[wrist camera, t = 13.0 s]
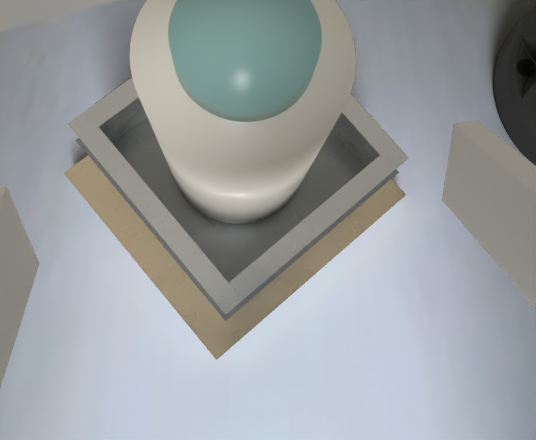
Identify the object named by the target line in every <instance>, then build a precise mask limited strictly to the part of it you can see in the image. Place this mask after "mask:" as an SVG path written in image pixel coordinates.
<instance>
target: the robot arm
mask: <svg viewBox="0 0 536 440" xmlns="http://www.w3.org/2000/svg"><path fill="white" fill-rule="evenodd" d="M494 91H495V98H496V104H497V108H498V111H499V114H500V117H501V120H502V122H503V124H504V127H505V129H506V131H507V132H508V134H509V136H510V138H511V139H512V141H513V142H514V144H515V145H516V146H517V148H518V149H519V150H520V151H521V152H522V154H523V155H524V156H525V157H526V158H527V159H526V158H525V157H524V156H523V155H521V154H520V153H519V152H517V151H516V150H515V149H514V148H512V147H511V146H510V145H508V144H507V143H506V142H505V141H503V140H502V139H501V138H500V137H498V136H497V135H496V134H494V133H493V132H492V131H491V130H489V129H488V128H487V127H485V126H484V125H483V124H482V123H480V122H479V121H478V120H476V121H469V122H462V123H455V124H454V126H453V132H452V139H451V145H450V151H449V158H448V164H447V171H446V177H445V184H444V190H443V196H442V200H443V202H444V203H445V204H446V205H447V206H448V207H449V208H450V210H451V211H452V212H453V213H454V214H455V215H456V217H457V218H458V219H459V220H460V221H461V222H462V224H463V225H464V226H465V227H466V228H467V229H468V231H469V232H470V233H471V234H472V235H473V236H474V238H475V239H476V240H477V241H478V242H479V243H480V245H481V246H482V247H483V248H484V249H485V250H486V252H487V253H488V254H489V255H490V256H491V257H492V258H493V260H494V261H495V262H496V263H497V264H498V265H499V267H500V268H501V269H502V270H503V271H504V272H505V274H506V275H507V276H508V277H509V278H510V279H511V281H512V282H513V283H514V284H515V285H516V286H517V288H518V289H519V290H520V291H521V292H522V293H523V295H524V296H525V297H526V298H527V299H528V300H529V302H530V303H531V304H532V305H533V306H534V307H535V309H536V7H535V8H533V9H532V10H531V11H530V12H529V13H528V14H527V15H526V16H525V17H524V18H523V19H522V20H521V21H520V22H519V23H518V24H517V25H516V26H515V27H514V28H513V30H512V31H511V32H510V33H509V35H508V36H507V38H506V39H505V41H504V43H503V45H502V47H501V50H500V52H499V55H498V58H497V62H496V67H495V74H494ZM38 266H39V261H38V259H37V257H36V254H35V252H34V250H33V247H32V245H31V243H30V240H29V238H28V236H27V233H26V231H25V229H24V226H23V224H22V222H21V219H20V217H19V215H18V212H17V210H16V208H15V205H14V203H13V201H12V198H11V196H10V194H9V191H8V189H7V187H4V188H0V387H1V384H2V381H3V378H4V374H5V371H6V368H7V365H8V362H9V358H10V355H11V352H12V349H13V346H14V343H15V339H16V336H17V333H18V330H19V327H20V323H21V320H22V317H23V314H24V311H25V307H26V304H27V301H28V298H29V295H30V292H31V288H32V285H33V282H34V279H35V276H36V272H37V269H38Z"/></svg>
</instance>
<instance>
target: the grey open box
mask: <svg viewBox="0 0 536 440" xmlns="http://www.w3.org/2000/svg"><path fill="white" fill-rule="evenodd" d="M68 125H69V126H70V127H71V128H72V130H73V131H74V132H75V133H76V134H77V136H78V137H79V139H77V140H76V141H77V142H78V143H79V145H80V146H81V147H82V148H83V150H84V151H85V152H86V153H87V154H88V155H87V156H86V157H85V158H83V159H82V160H81V161H79V162H78V163H77V164H75V165H74V166H73V167H71V168H70V169H69V170H67V171H66V172H65V173H64V174H65V175H66V176H67V178H68V179H69V180H70V181H71V183H72V184H73V185H74V186H75V187H76V189H77V190H78V191H79V192H80V194H81V195H82V196H83V197H84V198H85V200H86V201H87V202H88V203H89V205H90V206H91V207H92V208H93V209H94V211H95V212H96V213H97V214H98V216H99V217H100V218H101V219H102V220H103V222H104V223H105V224H106V225H107V227H108V228H109V229H110V230H111V231H112V233H113V234H114V235H115V236H116V238H117V239H118V240H119V241H120V242H121V244H122V245H123V246H124V247H125V249H126V250H127V251H128V252H129V253H130V255H131V256H132V257H133V258H134V260H135V261H136V262H137V263H138V264H139V266H140V267H141V268H142V269H143V271H144V272H145V273H146V274H147V275H148V277H149V278H150V279H151V280H152V282H153V283H154V284H155V285H156V286H157V288H158V289H159V290H160V291H161V293H162V294H163V295H164V296H165V297H166V299H167V300H168V301H169V302H170V304H171V305H172V306H173V307H174V308H175V310H176V311H177V312H178V313H179V315H180V316H181V317H182V318H183V319H184V321H185V322H186V323H187V324H188V326H189V327H190V328H191V329H192V330H193V332H194V333H195V334H196V335H197V337H198V338H199V339H200V340H201V341H202V343H203V344H204V345H205V346H206V348H207V349H208V350H209V351H210V352H211V354H212V355H213V356H214V357H215V359H216V360H217V359H218V358H219V357H220V356H222V355H223V354H224V353H225V352H226V351H227V350H228V349H230V348H231V347H232V346H233V345H234V344H235V343H236V342H238V341H239V340H240V339H241V338H242V337H243V336H244V335H246V334H247V333H248V332H249V331H250V330H251V329H253V328H254V327H255V326H256V325H257V324H258V323H259V322H261V321H262V320H263V319H264V318H265V317H266V316H267V315H269V314H270V313H271V312H272V311H273V310H274V309H275V308H277V307H278V306H279V305H280V304H281V303H282V302H283V301H285V300H286V299H287V298H288V297H289V296H290V295H292V294H293V293H294V292H295V291H296V290H297V289H298V288H300V287H301V286H302V285H303V284H304V283H305V282H306V281H308V280H309V279H310V278H311V277H312V276H313V275H314V274H316V273H317V272H318V271H319V270H320V269H321V268H323V267H324V266H325V265H326V264H327V263H328V262H329V261H331V260H332V259H333V258H334V257H335V256H336V255H337V254H339V253H340V252H341V251H342V250H343V249H344V248H345V247H347V246H348V245H349V244H350V243H351V242H352V241H353V240H355V239H356V238H357V237H358V236H359V235H360V234H362V233H363V232H364V231H365V230H366V229H367V228H368V227H370V226H371V225H372V224H373V223H374V222H375V221H376V220H378V219H379V218H380V217H381V216H382V215H383V214H384V213H386V212H387V211H388V210H389V209H390V208H391V207H392V206H394V205H395V204H396V203H397V202H398V201H399V200H401V199H402V198H403V197H404V196H405V195H406V194H405V193H404V192H403V191H402V190H401V189H400V188H399V187H398V185H397V184H396V183H395V182H394V181H393V180H392V178H393V177H394V176H395V175H396V174H397V173H399V172H398V171H397V170H396V168H398V167H399V166H400V165H401V164H402V163H404V162H405V161H406V160H407V159H408V157H407V155H406V154H405V153H404V152H403V151H402V150H401V149H400V148H399V146H398V145H397V144H396V143H395V142H394V141H393V140H392V139H391V138H390V136H389V135H388V134H387V133H386V132H385V131H384V130H383V129H382V128H381V126H380V125H379V124H378V123H377V122H376V121H375V120H374V119H373V117H372V116H371V115H370V114H369V113H368V112H367V111H366V110H365V109H364V107H363V106H362V105H361V104H360V103H359V102H358V101H357V100H356V99H355V97H354V96H353V95H352V94H350V96H349V99H348V101H347V103H346V106H345V107H344V109H343V111H342V113H341V114H340V116H339V118H338V120H337V121H336V123H335V125H334V127H333V128H332V130H331V132H330V134H329V135H328V137H327V139H326V141H325V142H324V144H323V146H322V148H321V149H320V151H319V153H318V155H317V156H316V158H315V160H314V162H313V163H312V165H311V167H310V169H309V170H308V172H307V174H306V176H305V177H304V179H303V181H302V182H301V184H300V186H299V188H298V189H297V191H296V193H295V194H294V196H293V197H292V199H291V200H290V201H289V202H288V203H287V204H286V205H285V206H284V207H283V208H282V209H281V210H279V211H278V212H276V213H275V214H273V215H271V216H269V217H268V218H265V219H262V220H260V221H256V222H252V223H244V224H232V223H226V222H221V221H218V220H215V219H212V218H210V217H208V216H206V215H204V214H203V213H201V212H199V211H198V210H197V209H196V208H194V207H193V206H192V205H191V204H190V203H189V202H188V201H187V200H186V199H185V197H184V196H183V195H182V193H181V192H180V190H179V188H178V186H177V184H176V182H175V179H174V177H173V175H172V172H171V170H170V168H169V166H168V163H167V161H166V159H165V156H164V154H163V152H162V149H161V147H160V145H159V142H158V140H157V138H156V136H155V133H154V131H153V129H152V126H151V124H150V122H149V119H148V117H147V115H146V113H145V110H144V108H143V106H142V103H141V101H140V99H139V96H138V94H137V91H136V88H135V86H134V83H133V78H132V77H131V78H130V79H128V80H127V81H126V82H124V83H123V84H121V85H120V86H119V87H117V88H116V89H114V90H113V91H112V92H110V93H109V94H108V95H106V96H105V97H103V98H102V99H101V100H99V101H98V102H97V103H95V104H94V105H93V106H92V107H90V108H89V109H87V110H86V111H85V112H83V113H82V114H80V115H79V116H78V117H76V118H75V119H74V120H72V121H71V122H69V123H68Z"/></svg>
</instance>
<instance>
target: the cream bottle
mask: <svg viewBox="0 0 536 440" xmlns="http://www.w3.org/2000/svg"><path fill="white" fill-rule="evenodd" d="M130 68H131V74H132V78H133V83H134V86H135V88H136V91H137V94H138V96H139V99H140V101H141V103H142V106H143V108H144V110H145V113H146V115H147V117H148V119H149V122H150V124H151V126H152V129H153V131H154V133H155V136H156V138H157V140H158V142H159V145H160V147H161V149H162V152H163V154H164V156H165V159H166V161H167V163H168V166H169V168H170V170H171V172H172V175H173V177H174V179H175V182H176V184H177V186H178V188H179V190H180V192H181V193H182V195H183V196H184V197H185V199H186V200H187V201H188V202H189V203H190V204H191V205H192V206H193V207H194V208H196V209H197V210H198V211H199V212H201V213H203V214H204V215H206V216H208V217H210V218H212V219H215V220H218V221H221V222H226V223H232V224H244V223H252V222H256V221H260V220H262V219H265V218H268V217H269V216H271V215H273V214H275V213H276V212H278V211H279V210H281V209H282V208H283V207H284V206H285V205H286V204H287V203H288V202H289V201H290V200H291V199H292V197H293V196H294V194H295V193H296V191H297V189H298V188H299V186H300V184H301V182H302V181H303V179H304V177H305V176H306V174H307V172H308V170H309V169H310V167H311V165H312V163H313V162H314V160H315V158H316V156H317V155H318V153H319V151H320V149H321V148H322V146H323V144H324V142H325V141H326V139H327V137H328V135H329V134H330V132H331V130H332V128H333V127H334V125H335V123H336V121H337V120H338V118H339V116H340V114H341V113H342V111H343V109H344V107H345V106H346V103H347V101H348V99H349V96H350V94H351V91H352V87H353V83H354V79H355V70H356V52H355V45H354V39H353V36H352V33H351V29H350V26H349V24H348V22H347V19H346V17H345V15H344V13H343V11H342V10H341V8H340V7H339V5H338V3H337V2H336V1H335V0H146V2H145V3H144V5H143V7H142V9H141V11H140V12H139V14H138V17H137V19H136V22H135V25H134V28H133V32H132V37H131V41H130Z"/></svg>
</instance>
